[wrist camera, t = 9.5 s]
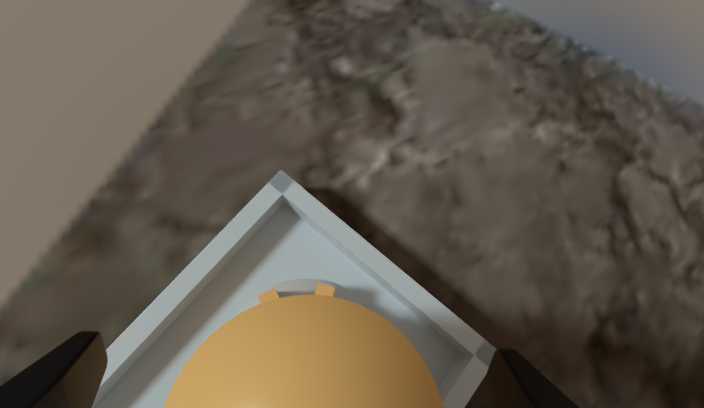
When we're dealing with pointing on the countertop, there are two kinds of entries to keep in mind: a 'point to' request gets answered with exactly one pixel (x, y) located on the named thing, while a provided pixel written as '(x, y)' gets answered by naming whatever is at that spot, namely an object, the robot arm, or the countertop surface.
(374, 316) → the tan gear peg
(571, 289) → the countertop surface
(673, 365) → the countertop surface
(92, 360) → the robot arm
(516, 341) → the countertop surface
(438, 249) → the countertop surface
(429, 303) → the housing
